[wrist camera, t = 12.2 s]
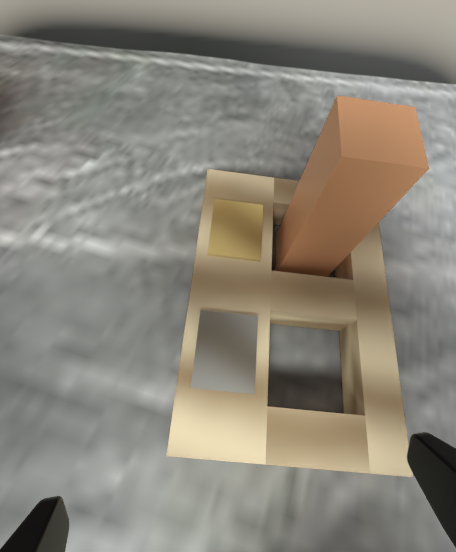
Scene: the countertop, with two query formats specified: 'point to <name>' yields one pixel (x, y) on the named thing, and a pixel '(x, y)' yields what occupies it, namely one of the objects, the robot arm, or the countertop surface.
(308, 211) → the plug
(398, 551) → the countertop surface
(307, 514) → the countertop surface
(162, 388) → the countertop surface
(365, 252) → the socket plate
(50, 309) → the countertop surface
